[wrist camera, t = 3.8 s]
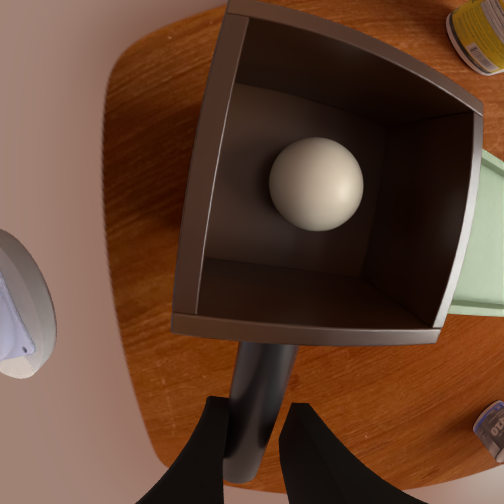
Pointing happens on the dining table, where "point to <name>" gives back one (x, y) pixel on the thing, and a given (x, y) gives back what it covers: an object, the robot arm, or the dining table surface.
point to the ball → (316, 184)
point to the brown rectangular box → (319, 242)
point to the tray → (484, 248)
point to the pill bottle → (492, 429)
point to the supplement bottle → (479, 34)
